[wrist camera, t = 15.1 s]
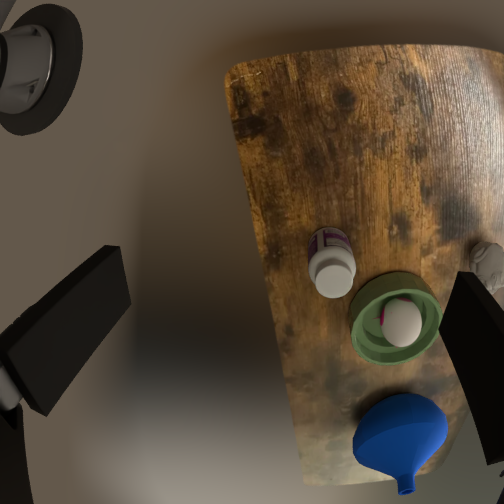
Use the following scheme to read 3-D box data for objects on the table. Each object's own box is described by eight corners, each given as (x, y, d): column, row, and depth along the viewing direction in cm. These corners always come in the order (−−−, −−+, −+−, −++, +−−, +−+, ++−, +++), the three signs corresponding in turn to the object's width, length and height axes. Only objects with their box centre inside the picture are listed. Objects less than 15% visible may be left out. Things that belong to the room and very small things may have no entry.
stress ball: (377, 282, 44) (357, 309, 40) (426, 285, 38) (411, 315, 34) (384, 322, 46) (366, 350, 42) (430, 328, 40) (415, 359, 36)
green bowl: (341, 342, 46) (343, 364, 42) (356, 267, 41) (361, 286, 36) (418, 344, 44) (425, 365, 40) (442, 273, 39) (454, 291, 34)
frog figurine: (458, 278, 38) (477, 304, 32) (461, 233, 36) (484, 255, 30) (490, 272, 37) (511, 296, 31) (495, 228, 34) (519, 249, 28)
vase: (371, 441, 57) (374, 514, 40) (335, 403, 53) (333, 493, 36) (446, 409, 50) (464, 484, 33) (425, 363, 46) (450, 455, 29)
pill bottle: (323, 270, 42) (325, 312, 33) (300, 241, 41) (297, 277, 32) (357, 249, 40) (368, 287, 31) (334, 217, 38) (341, 249, 30)
